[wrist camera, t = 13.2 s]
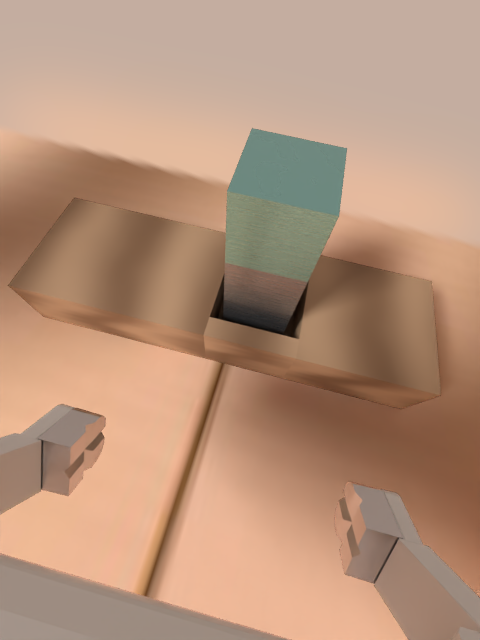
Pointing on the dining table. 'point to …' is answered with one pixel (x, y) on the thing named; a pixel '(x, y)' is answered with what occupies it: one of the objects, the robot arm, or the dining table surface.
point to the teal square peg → (277, 225)
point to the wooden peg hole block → (208, 301)
